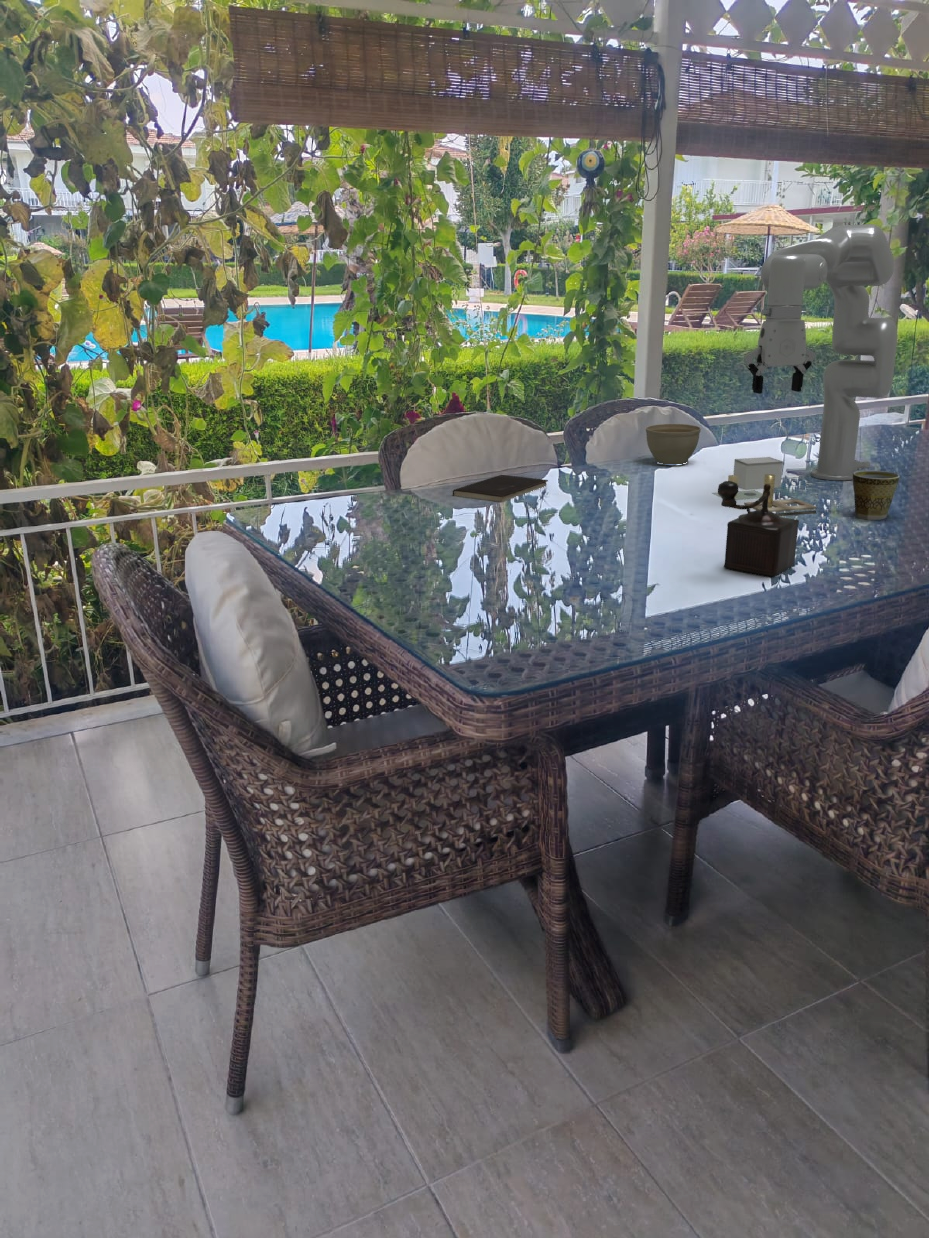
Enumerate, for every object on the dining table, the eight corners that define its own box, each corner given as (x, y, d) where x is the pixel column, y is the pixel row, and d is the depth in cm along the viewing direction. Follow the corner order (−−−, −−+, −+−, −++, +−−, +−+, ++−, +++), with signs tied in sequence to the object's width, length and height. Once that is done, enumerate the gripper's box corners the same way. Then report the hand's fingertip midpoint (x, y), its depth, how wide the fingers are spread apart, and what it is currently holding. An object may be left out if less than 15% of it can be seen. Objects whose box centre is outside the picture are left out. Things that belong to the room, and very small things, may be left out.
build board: (796, 505, 232) (796, 498, 232) (816, 513, 224) (816, 506, 223) (743, 509, 230) (744, 502, 229) (761, 517, 221) (762, 510, 221)
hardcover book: (548, 488, 260) (548, 480, 259) (502, 504, 243) (502, 495, 242) (499, 482, 269) (499, 474, 268) (452, 497, 251) (452, 489, 251)
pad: (753, 494, 244) (755, 470, 242) (771, 502, 236) (773, 477, 234) (710, 497, 242) (712, 473, 240) (726, 505, 234) (728, 480, 232)
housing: (766, 486, 253) (769, 456, 251) (780, 491, 247) (782, 461, 244) (732, 488, 251) (734, 459, 249) (744, 494, 245) (747, 463, 242)
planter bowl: (635, 461, 292) (636, 425, 288) (681, 457, 296) (683, 422, 293) (660, 470, 277) (662, 433, 274) (708, 466, 282) (711, 429, 278)
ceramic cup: (898, 522, 214) (904, 479, 211) (851, 521, 216) (857, 478, 213) (886, 509, 226) (891, 468, 223) (842, 508, 228) (847, 467, 225)
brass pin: (768, 510, 228) (772, 474, 224) (773, 513, 225) (777, 475, 222) (759, 511, 227) (762, 474, 224) (764, 513, 225) (767, 476, 222)
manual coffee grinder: (743, 556, 192) (750, 468, 186) (796, 565, 185) (805, 475, 179) (707, 574, 181) (713, 481, 175) (761, 585, 174) (770, 489, 168)
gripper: (756, 315, 206) (749, 395, 212) (828, 313, 209) (819, 392, 215) (740, 314, 213) (734, 392, 219) (810, 312, 216) (802, 388, 222)
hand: (776, 392), depth 217 cm, fingers open, 9 cm apart
